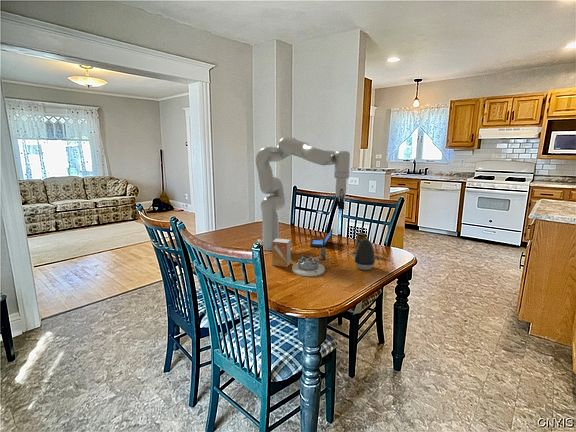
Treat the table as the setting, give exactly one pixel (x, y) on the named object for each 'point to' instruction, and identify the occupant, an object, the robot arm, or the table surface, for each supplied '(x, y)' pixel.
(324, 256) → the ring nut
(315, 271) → the cap plate
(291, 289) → the table surface
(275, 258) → the small box
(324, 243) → the handheld game console
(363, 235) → the condiment
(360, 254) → the pump dispenser
